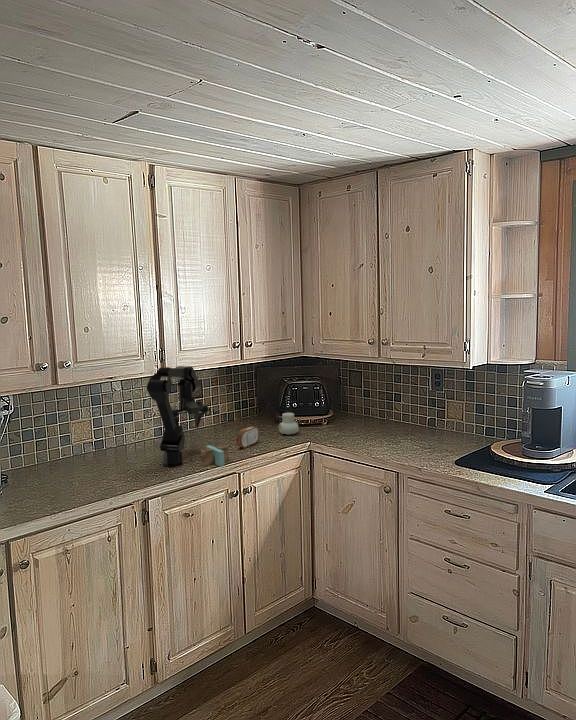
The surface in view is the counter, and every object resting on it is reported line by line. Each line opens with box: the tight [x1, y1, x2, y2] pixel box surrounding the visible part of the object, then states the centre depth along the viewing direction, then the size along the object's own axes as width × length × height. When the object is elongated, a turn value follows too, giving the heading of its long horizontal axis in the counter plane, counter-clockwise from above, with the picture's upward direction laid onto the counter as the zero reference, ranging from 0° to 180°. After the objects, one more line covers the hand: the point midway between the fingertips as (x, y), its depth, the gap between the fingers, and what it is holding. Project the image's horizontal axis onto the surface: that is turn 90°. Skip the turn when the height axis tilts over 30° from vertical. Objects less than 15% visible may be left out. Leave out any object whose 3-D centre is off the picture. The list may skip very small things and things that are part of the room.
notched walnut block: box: [200, 445, 230, 467], centre depth 251 cm, size 12×2×6 cm, turn 125°
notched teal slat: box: [205, 445, 225, 467], centre depth 251 cm, size 12×2×6 cm, turn 36°
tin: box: [236, 425, 260, 448], centre depth 277 cm, size 15×3×8 cm, turn 149°
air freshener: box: [278, 412, 300, 436], centre depth 297 cm, size 11×8×10 cm
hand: (187, 429), depth 264 cm, fingers open, 9 cm apart
